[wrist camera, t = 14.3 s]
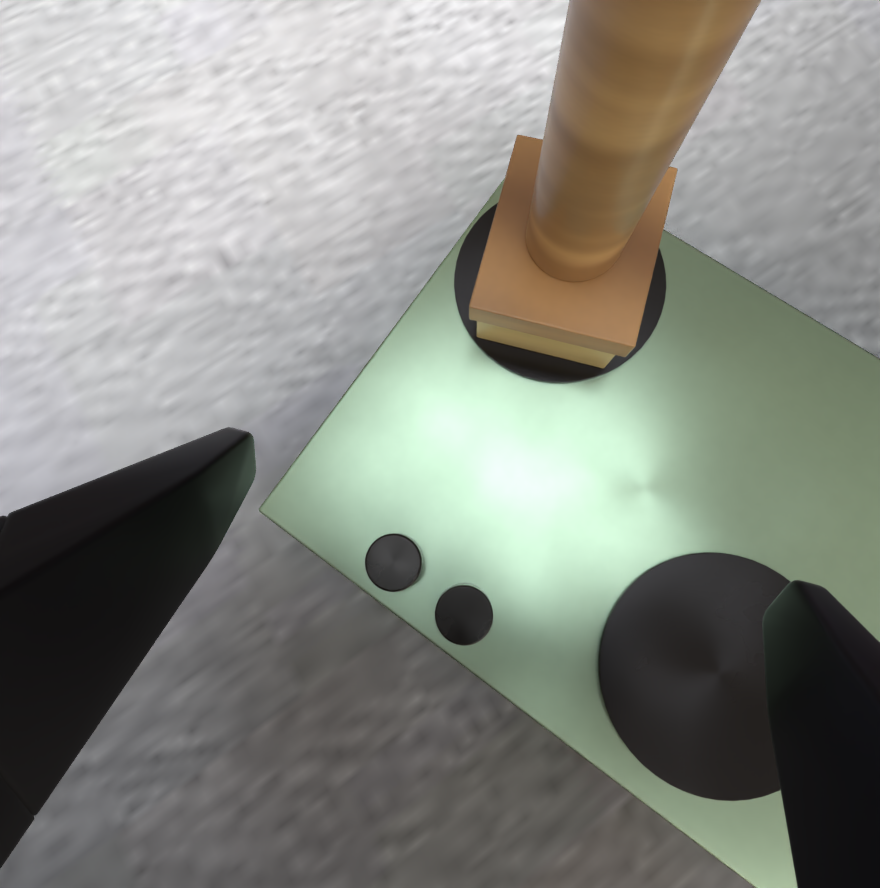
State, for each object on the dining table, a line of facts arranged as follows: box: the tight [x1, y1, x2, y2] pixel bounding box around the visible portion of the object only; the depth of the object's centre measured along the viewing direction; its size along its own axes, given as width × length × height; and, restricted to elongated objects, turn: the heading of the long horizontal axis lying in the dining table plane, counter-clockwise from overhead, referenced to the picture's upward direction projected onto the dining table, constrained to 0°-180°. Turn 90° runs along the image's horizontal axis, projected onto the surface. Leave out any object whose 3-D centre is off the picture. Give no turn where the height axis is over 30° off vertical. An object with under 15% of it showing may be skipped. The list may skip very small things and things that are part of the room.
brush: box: [469, 0, 761, 368], centre depth 12 cm, size 6×5×14 cm
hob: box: [259, 178, 880, 888], centre depth 18 cm, size 16×20×3 cm
